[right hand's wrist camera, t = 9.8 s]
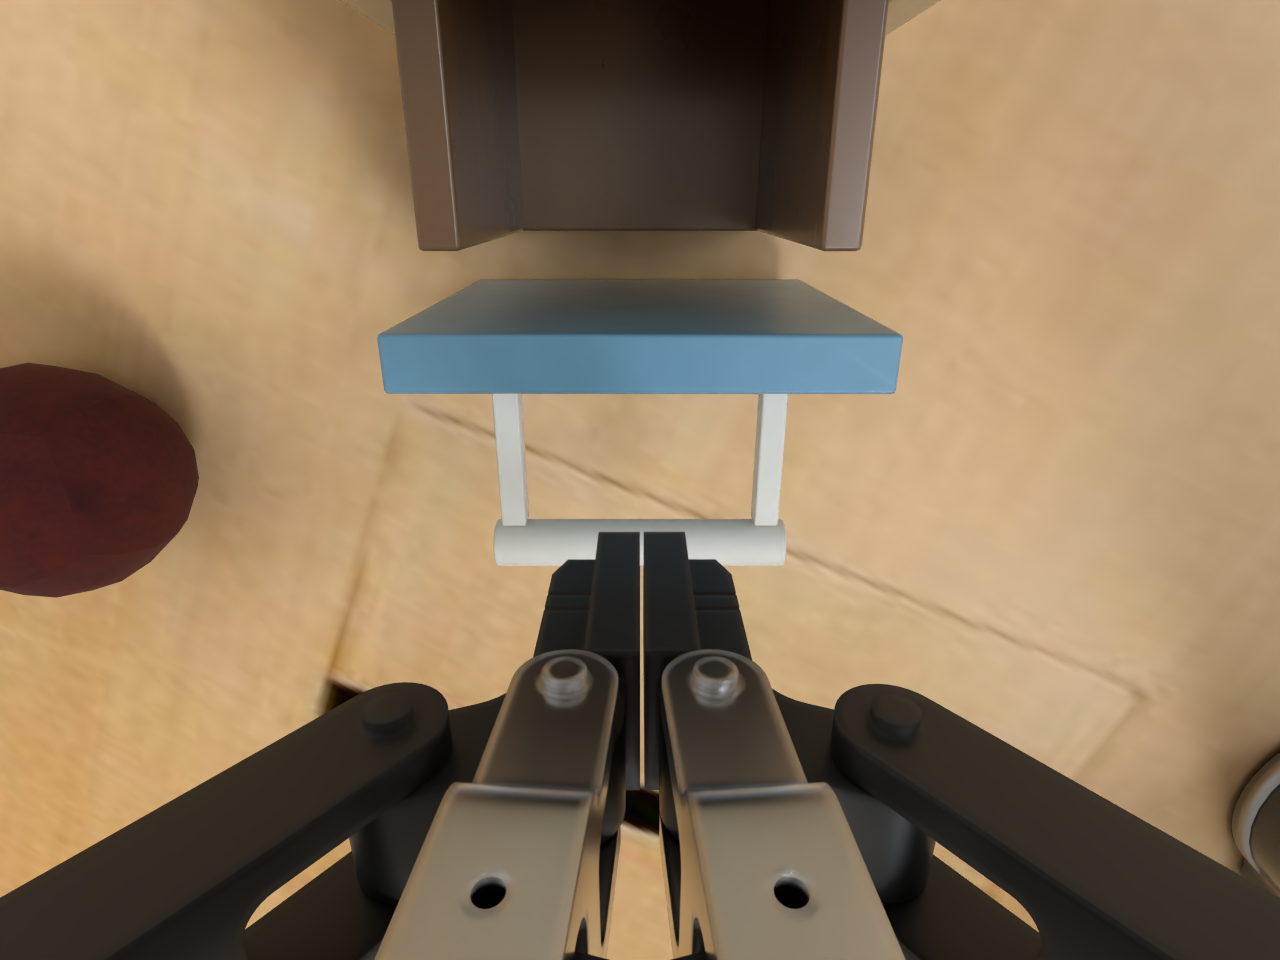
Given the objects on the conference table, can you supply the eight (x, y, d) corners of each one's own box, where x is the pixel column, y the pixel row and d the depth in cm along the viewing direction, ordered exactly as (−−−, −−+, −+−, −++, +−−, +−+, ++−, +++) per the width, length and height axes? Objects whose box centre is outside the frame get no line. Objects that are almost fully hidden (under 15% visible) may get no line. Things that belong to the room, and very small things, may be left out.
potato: (-20, 354, 24) (-262, 413, 18) (200, 331, 24) (36, 382, 17) (66, 545, 27) (-117, 657, 20) (264, 527, 27) (143, 634, 20)
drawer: (785, 466, 25) (865, 618, 16) (494, 466, 25) (414, 618, 16) (841, -217, 18) (1037, -619, 9) (439, -217, 18) (243, -619, 9)
